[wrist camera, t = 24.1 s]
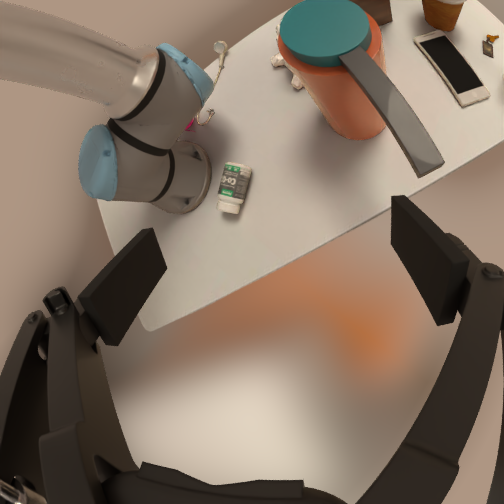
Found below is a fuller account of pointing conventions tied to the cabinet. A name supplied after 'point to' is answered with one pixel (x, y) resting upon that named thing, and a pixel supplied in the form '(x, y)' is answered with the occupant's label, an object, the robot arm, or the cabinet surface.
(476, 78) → the smartphone
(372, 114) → the pedestal
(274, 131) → the cabinet surface
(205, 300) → the cabinet surface
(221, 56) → the shower head
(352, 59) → the disc paddle
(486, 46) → the key tag
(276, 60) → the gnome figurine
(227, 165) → the pill bottle
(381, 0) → the pillar
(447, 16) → the disposable coffee cup
